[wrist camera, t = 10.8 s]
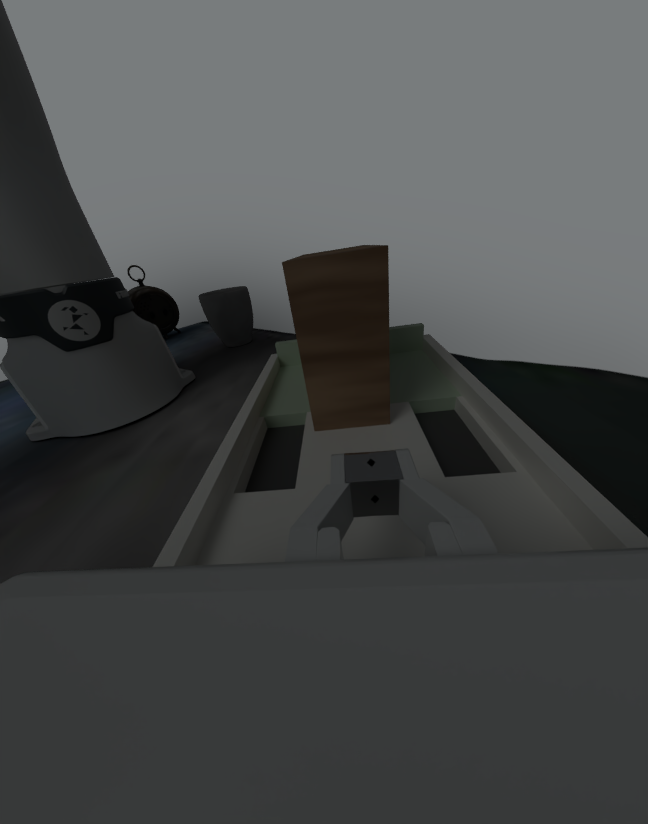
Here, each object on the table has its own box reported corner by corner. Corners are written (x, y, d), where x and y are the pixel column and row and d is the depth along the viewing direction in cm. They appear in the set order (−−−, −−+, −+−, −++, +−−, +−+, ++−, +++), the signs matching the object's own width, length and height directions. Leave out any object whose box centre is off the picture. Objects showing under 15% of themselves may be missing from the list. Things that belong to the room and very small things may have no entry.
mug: (269, 337, 55) (256, 285, 50) (234, 352, 49) (216, 295, 44) (233, 333, 61) (219, 287, 56) (199, 346, 56) (179, 297, 51)
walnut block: (390, 424, 21) (388, 245, 15) (314, 431, 22) (281, 262, 15) (369, 359, 33) (363, 245, 27) (320, 365, 34) (303, 254, 27)
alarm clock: (182, 330, 73) (154, 262, 64) (190, 332, 69) (161, 260, 61) (138, 343, 66) (101, 270, 58) (145, 346, 63) (106, 268, 55)
